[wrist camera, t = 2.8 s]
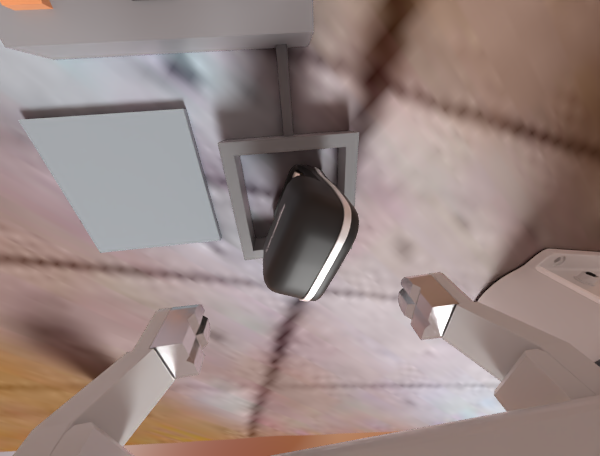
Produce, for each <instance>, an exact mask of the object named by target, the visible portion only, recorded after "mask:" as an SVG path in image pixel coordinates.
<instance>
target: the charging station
mask: <svg viewBox="0 0 600 456" xmlns="http://www.w3.org/2000/svg"><path fill="white" fill-rule="evenodd" d="M313 33H314V17H313V0H0V39H1V41H2V43H3V44H4V46H5V47H6V48H10V49H14V50H18V51H22V52H26V53H30V54H34V55H37V56H41V57H45V58H49V59H53V60H58V59H77V58H96V57H115V56H134V55H152V54H171V53H190V52H209V51H228V50H247V49H266V48H276V57H277V68H278V79H279V89H280V100H281V111H282V122H283V133H284V136H272V137H259V138H246V139H233V140H224V141H222V142H219V143H218V147H219V151H220V155H221V160H222V164H223V168H224V173H225V177H226V181H227V186H228V190H229V194H230V199H231V203H232V207H233V212H234V216H235V220H236V225H237V229H238V233H239V238H240V242H241V246H242V251H243V255H244V259H245V260H251V259H261V258H263V251H264V243H265V240H266V237H261V238H255V234H254V228H253V223H252V218H251V213H250V207H249V202H248V197H247V192H246V186H245V181H244V176H243V171H242V165H241V160H240V155H251V154H263V153H276V152H288V151H301V150H313V149H325V148H338V181H337V187H338V188H339V189H340V190H341V191H342V193H343V194H344V195H345V196H346V197H347V198H348V200H349V201H350V202H351V204H352V205H353V206H355V190H356V175H357V159H358V143H359V132H354V131H338V132H325V133H312V134H299V135H293V123H292V109H291V95H290V81H289V67H288V53H287V47H304V46H308V44H309V42H310V40H311V37H312V35H313ZM350 249H352V247H351V248H350Z"/></svg>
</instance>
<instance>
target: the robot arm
mask: <svg viewBox="0 0 600 456" xmlns="http://www.w3.org/2000/svg"><path fill="white" fill-rule="evenodd" d="M401 285H402V287H403V289H402V290H401V291H400V292H399V295H398V302H399V306H400V308H401V310H402V312H403V314H404V315H405V316H407V317H408V318H410V319H411V326H412V327H413V329H414V330H415V332H416V333H417V335H418V336H419V338H420V339H421V340H425V339H433V338H441V337H443V338H442V339H444V340H445V341H446V342H448V343H449V344H450V345H452V346H453V347H454V348H456V349H457V350H459V351H460V352H461V353H463V354H464V355H465V356H467V357H468V358H469V359H471V360H472V361H474V362H475V363H476V364H478V365H479V366H480V367H482V368H483V369H485V370H486V371H487V372H489V373H490V374H491V375H493V376H494V377H495V378H497V379H498V380H500V381H501V383H500V384H499V386H498V387H497V388H496V389H495V392H494V396H495V397H496V398H497V400H498V401H499V402H500V403H501V405H502V406H503V407H504V409H505V410H506V411H507V412H503V413H497V414H492V415H486V416H481V417H476V418H470V419H465V420H460V421H454V422H449V423H444V424H438V425H433V426H427V427H422V428H417V429H411V430H406V431H401V432H395V433H390V434H385V435H379V436H374V437H368V438H363V439H358V440H352V441H347V442H342V443H337V444H331V445H326V446H320V447H315V448H309V449H305V450H299V451H293V452H288V453H283V454H277V455H272V456H600V252H592V251H578V250H563V249H546V250H543V251H542V252H540V253H539V254H537V255H536V256H535V257H533V258H532V259H531V260H530V261H529V262H527V263H526V264H525V265H524V266H522V267H520V268H519V269H517V270H515V271H513V272H511V273H509V274H508V275H506V276H504V277H503V278H501V279H500V280H498V281H497V282H496V283H494V284H493V285H492V286H491V287H490V288H488V289H487V290H486V291H485V292H484V294H483V295H482V296H481V297H480V298H479V300H478V301H477V302H473V301H472V300H471V299H470V298H469V297H468V296H467V295H466V294H465V293H464V292H462V291H461V290H460V289H459V288H458V287H457V286H456V285H455V284H454V283H453V282H452V281H451V280H449V279H448V278H447V277H446V276H445V275H444V274H442V273H440V272H437V273H430V274H423V275H416V276H409V277H404V278H403V279H402V281H401ZM204 311H205V310H204V308H203V306H202V305H190V306H181V307H173V308H164V309H159V310H158V311H156V312H155V314H154V315H153V317H152V319H151V320H150V322H149V324H148V325H147V327H146V329H145V330H144V332H143V334H142V335H141V337H140V339H139V341H138V342H137V344H136V346H135V347H134V349H133V351H131V352H127V353H126V354H125V355H123V356H122V357H121V358H120V359H118V360H117V361H116V362H115V363H114V364H112V365H111V366H110V367H109V368H107V369H106V370H105V371H104V372H103V373H101V374H100V375H99V376H98V377H96V378H95V379H94V380H93V381H92V382H90V383H89V384H88V385H87V386H85V387H84V388H83V389H82V390H81V391H79V392H78V393H77V394H76V395H75V396H73V397H72V398H71V399H70V400H68V401H67V402H66V403H65V404H64V405H62V406H61V407H60V408H59V409H57V410H56V411H55V412H54V413H53V414H51V415H50V416H49V417H48V418H46V419H45V420H44V421H43V422H42V423H40V424H39V425H38V426H37V427H35V428H34V429H33V430H32V431H31V433H30V434H29V435H28V437H27V438H26V439H25V440H24V442H23V443H22V444H21V446H20V447H19V448H18V450H17V451H16V452H15V454H14V455H13V456H134V455H133V454H132V453H130V452H129V451H128V450H127V449H125V448H124V447H123V446H124V444H125V443H126V442H127V441H128V439H129V438H130V437H131V436H132V434H133V433H134V432H135V430H136V429H137V428H138V427H139V425H140V424H141V423H142V422H143V420H144V419H145V418H146V416H147V415H148V414H149V413H150V411H151V410H152V409H153V408H154V406H155V405H156V404H157V402H158V401H159V400H160V399H161V397H162V396H163V395H164V393H165V392H166V391H167V390H168V388H169V387H170V386H171V385H172V383H173V382H174V381H175V380H174V379H177V378H182V377H188V376H193V375H199V374H200V370H201V367H202V363H203V360H204V356H205V355H204V353H203V351H202V350H203V349H204V348H205V346H206V345H207V344H208V342H209V338H210V323H209V320H208V318H206V317H205V316H203V314H204Z"/></svg>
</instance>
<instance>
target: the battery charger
mask: <svg viewBox="0 0 600 456" xmlns="http://www.w3.org/2000/svg"><path fill="white" fill-rule="evenodd" d="M358 226H359V218H358V214H357V212H356V209H355V208H354V206H353V205H352V204H351V202H350V201H349V200H348V198H347V197H346V196H345V195H344V194H343V193H342V191H341V190H340V189H339V188H338V187H336V186H335V185H334V184H333V183H332V182H331V181H330V180H329V179H328V178H327V177H326V176H325V174H324V173H323V172H322V171H320V170H319V169H318V168H316V167H314V168H313V167H311V166H308V165H295V166H294V167H292V169H291V170H290V172H289V175H288V177H287V180H286V182H285V185H284V188H283V190H282V193H281V196H280V198H279V201H278V203H277V206H276V209H275V212H274V220H273V223H272V225H271V227H270V229H269V232H268V235H267V237H266V240H265V243H264V251H263V275H264V281H265V283H266V285H267V287H268V288H269V289H270V290H272V291H273V292H276V293H279V294H284V295H288V296H292V297H297V298H298V299H299V300H301V301H316V300H318V299H319V298H320V297H321V296H322V295H323V293H324V292H325V290H326V289H327V287H328V286H329V284H330V282H331V281H332V279H333V278H334V276H335V274H336V273H337V271H338V269H339V268H340V266H341V264H342V262H343V261H344V259H345V257H346V255H347V254H348V252H349V250H350V248H351V247H352V245H353V243H354V240H355V238H356V235H357V232H358Z"/></svg>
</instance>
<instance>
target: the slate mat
mask: <svg viewBox="0 0 600 456" xmlns="http://www.w3.org/2000/svg"><path fill="white" fill-rule="evenodd" d="M19 122H20V124H21V125H22V127H23V128H24V130H25V132H26V133H27V135H28V137H29V138H30V140H31V141H32V143H33V145H34V146H35V148H36V149H37V151H38V153H39V154H40V156H41V158H42V159H43V161H44V162H45V164H46V166H47V167H48V169H49V170H50V172H51V174H52V175H53V177H54V179H55V180H56V182H57V183H58V185H59V187H60V188H61V190H62V192H63V193H64V195H65V196H66V198H67V200H68V201H69V203H70V204H71V206H72V208H73V209H74V211H75V213H76V214H77V216H78V217H79V219H80V221H81V222H82V224H83V226H84V227H85V229H86V230H87V232H88V234H89V235H90V237H91V238H92V240H93V242H94V243H95V245H96V247H97V248H98V250H99V251H100V253H102V252H112V251H122V250H131V249H141V248H151V247H161V246H170V245H180V244H190V243H200V242H209V241H219V240H221V238H222V237H221V233H220V229H219V226H218V222H217V219H216V215H215V211H214V208H213V204H212V201H211V197H210V193H209V190H208V186H207V183H206V179H205V175H204V172H203V168H202V165H201V161H200V157H199V154H198V150H197V146H196V143H195V139H194V136H193V132H192V128H191V125H190V121H189V118H188V114H187V110H186V109H171V110H156V111H142V112H127V113H112V114H97V115H82V116H67V117H53V118H38V119H23V120H19Z"/></svg>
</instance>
